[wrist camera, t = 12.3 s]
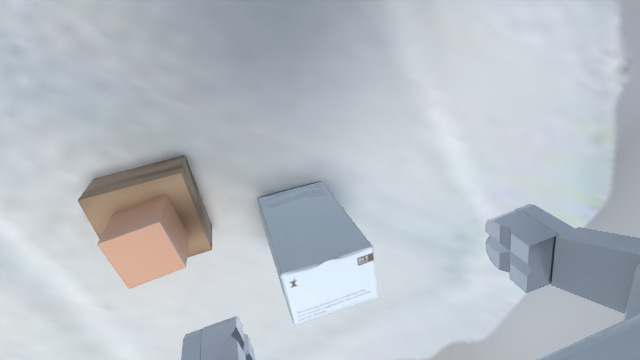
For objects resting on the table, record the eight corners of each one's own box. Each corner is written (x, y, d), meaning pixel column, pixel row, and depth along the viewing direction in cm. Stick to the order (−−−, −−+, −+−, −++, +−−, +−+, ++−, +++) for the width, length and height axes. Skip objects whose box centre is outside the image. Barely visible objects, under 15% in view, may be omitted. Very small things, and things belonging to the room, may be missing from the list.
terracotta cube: (113, 213, 33) (97, 244, 28) (166, 194, 33) (159, 221, 29) (139, 254, 35) (129, 289, 31) (189, 236, 36) (185, 267, 31)
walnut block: (94, 178, 36) (77, 200, 31) (184, 154, 37) (181, 172, 33) (131, 248, 40) (121, 277, 36) (212, 225, 41) (211, 249, 37)
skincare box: (266, 237, 44) (289, 331, 31) (255, 194, 41) (275, 277, 28) (332, 219, 45) (380, 302, 32) (325, 176, 42) (375, 248, 29)
